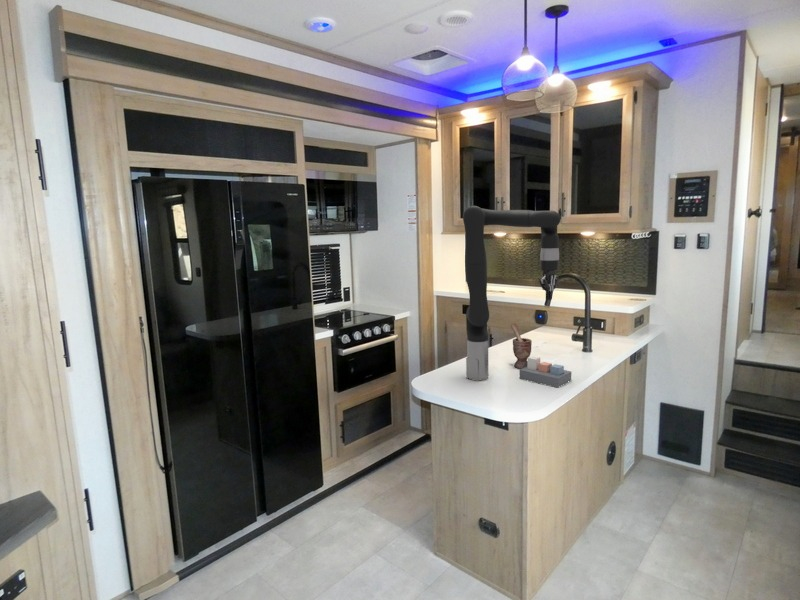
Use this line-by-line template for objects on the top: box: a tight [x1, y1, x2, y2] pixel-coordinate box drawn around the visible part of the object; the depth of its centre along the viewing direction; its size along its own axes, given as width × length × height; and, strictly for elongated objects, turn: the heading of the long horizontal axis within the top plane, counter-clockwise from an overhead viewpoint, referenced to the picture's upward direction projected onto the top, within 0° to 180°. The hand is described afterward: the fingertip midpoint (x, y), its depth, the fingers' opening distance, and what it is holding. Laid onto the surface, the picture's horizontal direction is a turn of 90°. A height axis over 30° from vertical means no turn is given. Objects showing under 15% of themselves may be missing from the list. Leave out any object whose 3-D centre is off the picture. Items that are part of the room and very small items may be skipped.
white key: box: [527, 355, 541, 370], centre depth 210 cm, size 4×4×5 cm
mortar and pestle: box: [510, 322, 533, 369], centre depth 226 cm, size 12×9×20 cm
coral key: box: [539, 361, 553, 373], centre depth 207 cm, size 4×4×5 cm
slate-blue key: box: [550, 363, 565, 376], centre depth 203 cm, size 4×4×5 cm
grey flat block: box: [519, 367, 572, 388], centre depth 207 cm, size 12×18×4 cm, turn 45°
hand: (548, 299), depth 203 cm, fingers closed
